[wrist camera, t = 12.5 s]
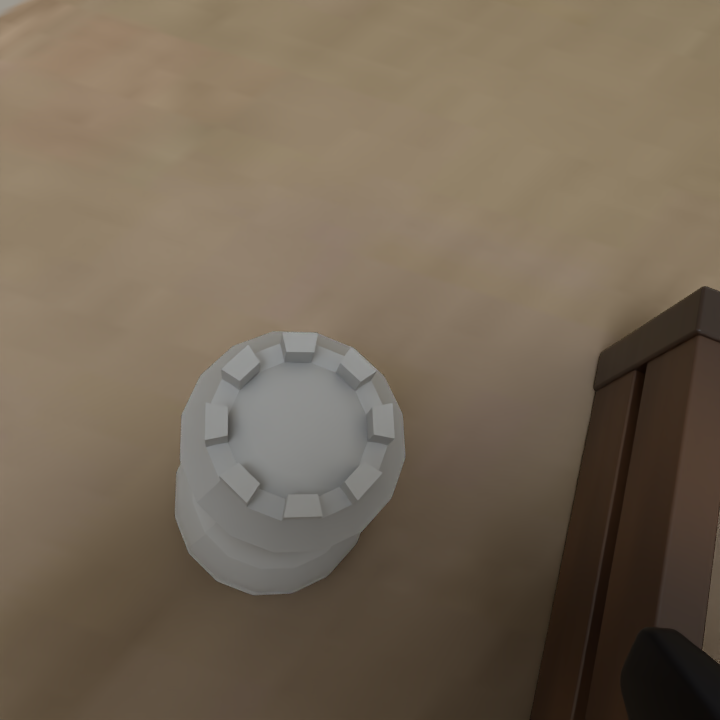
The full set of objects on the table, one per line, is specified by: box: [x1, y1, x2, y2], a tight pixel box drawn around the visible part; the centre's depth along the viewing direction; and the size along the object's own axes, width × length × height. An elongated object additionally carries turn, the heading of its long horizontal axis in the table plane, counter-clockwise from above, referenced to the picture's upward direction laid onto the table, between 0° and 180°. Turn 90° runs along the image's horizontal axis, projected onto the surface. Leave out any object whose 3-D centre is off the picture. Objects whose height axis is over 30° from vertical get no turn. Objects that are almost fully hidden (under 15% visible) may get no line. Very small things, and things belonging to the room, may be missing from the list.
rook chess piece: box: [175, 331, 406, 595], centre depth 13 cm, size 4×4×8 cm
